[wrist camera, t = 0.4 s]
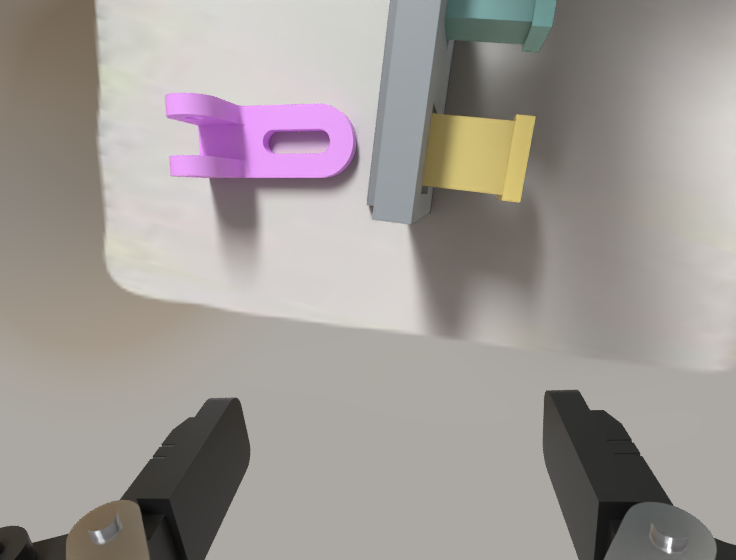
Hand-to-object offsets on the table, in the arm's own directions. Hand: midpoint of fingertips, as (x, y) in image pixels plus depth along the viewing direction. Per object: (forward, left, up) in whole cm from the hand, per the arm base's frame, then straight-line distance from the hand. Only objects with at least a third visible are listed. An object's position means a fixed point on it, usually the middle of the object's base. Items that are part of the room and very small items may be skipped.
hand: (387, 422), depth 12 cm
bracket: (-8, -14, -27) cm, 32 cm away
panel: (-13, -4, -27) cm, 30 cm away
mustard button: (-8, +1, -21) cm, 22 cm away
